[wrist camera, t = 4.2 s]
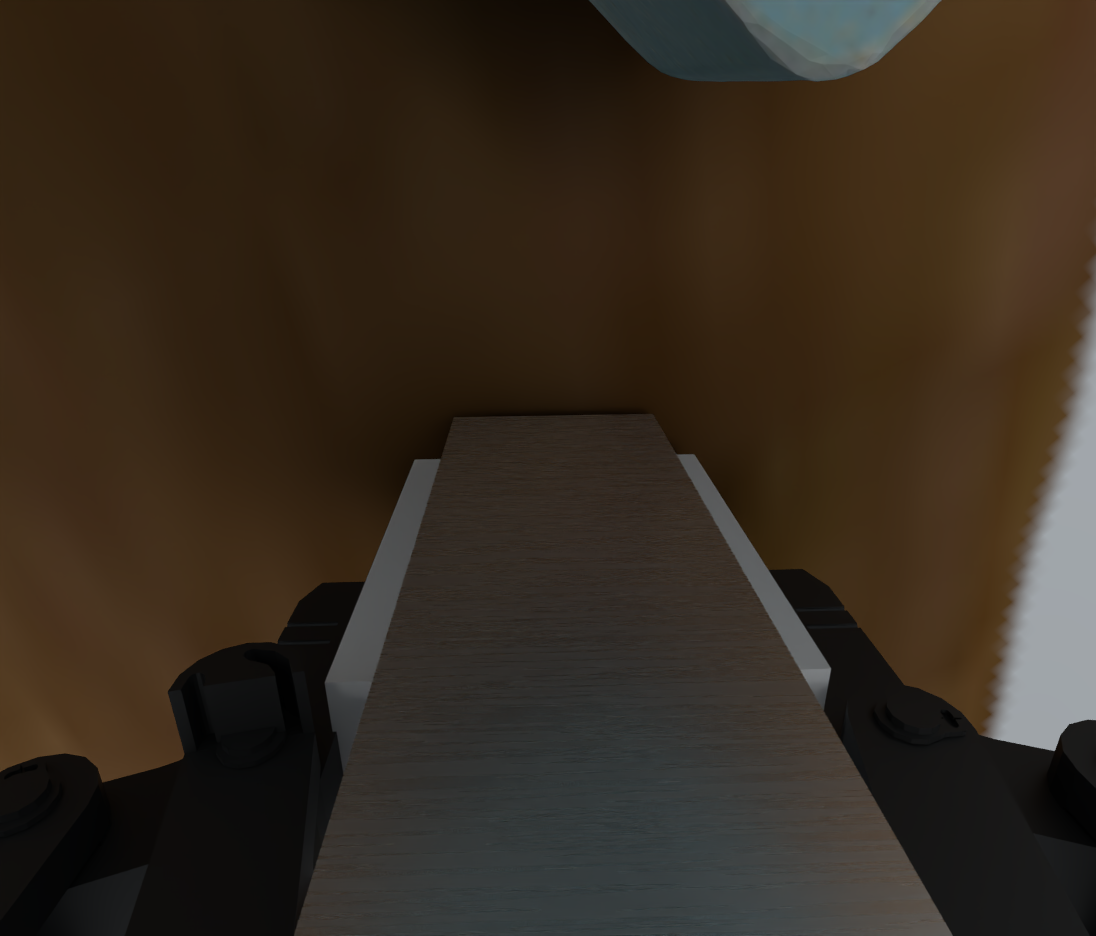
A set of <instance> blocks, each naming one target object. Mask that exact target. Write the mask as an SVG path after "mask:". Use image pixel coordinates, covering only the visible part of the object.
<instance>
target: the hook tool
mask: <svg viewBox="0 0 1096 936" xmlns="http://www.w3.org/2000/svg"><path fill="white" fill-rule="evenodd" d="M294 936H953V935H952V934H951V932H950V930H949V928H948V927H947V925H946V923H945V921H944V920H943V918H942V916H941V914H940V913H939V911H938V909H937V907H936V906H935V904H934V902H933V900H932V899H931V897H930V895H929V894H928V892H927V890H926V888H925V887H924V885H923V883H922V881H921V880H920V878H919V876H918V874H917V873H916V871H915V869H914V867H913V866H912V864H911V862H910V860H909V859H908V857H907V855H906V853H905V852H904V850H903V848H902V846H901V845H900V843H899V841H898V840H897V838H896V836H895V834H894V833H893V831H892V829H891V827H890V826H889V824H888V822H887V820H886V819H885V817H884V815H883V813H882V812H881V810H880V808H879V806H878V805H877V803H876V801H875V799H874V798H873V796H872V794H871V792H870V791H869V789H868V787H867V786H866V784H865V782H864V780H863V779H862V777H861V775H860V773H859V772H858V770H857V768H856V766H855V765H854V763H853V761H852V759H851V758H850V756H849V754H848V752H847V751H846V749H845V747H844V745H843V744H842V742H841V740H840V738H839V737H838V735H837V733H836V732H835V730H834V728H833V726H832V725H831V723H830V721H829V719H828V718H827V716H826V714H825V712H824V711H823V709H822V707H821V705H820V704H819V702H818V700H817V698H816V697H815V695H814V693H813V691H812V690H811V688H810V686H809V684H808V683H807V681H806V679H805V678H804V676H803V674H802V672H801V671H800V669H799V667H798V665H797V664H796V662H795V660H794V658H793V657H792V655H791V653H790V651H789V650H788V648H787V646H786V644H785V643H784V641H783V639H782V637H781V636H780V634H779V632H778V630H777V629H776V627H775V625H774V624H773V622H772V620H771V618H770V617H769V615H768V613H767V611H766V610H765V608H764V606H763V604H762V603H761V601H760V599H759V597H758V596H757V594H756V592H755V590H754V589H753V587H752V585H751V583H750V582H749V580H748V578H747V576H746V575H745V573H744V571H743V570H742V568H741V566H740V564H739V563H738V561H737V559H736V557H735V556H734V554H733V552H732V550H731V549H730V547H729V545H728V543H727V542H726V540H725V538H724V536H723V535H722V533H721V531H720V529H719V528H718V526H717V524H716V522H715V521H714V519H713V517H712V516H711V514H710V512H709V510H708V509H707V507H706V505H705V503H704V502H703V500H702V498H701V496H700V495H699V493H698V491H697V489H696V488H695V486H694V484H693V482H692V481H691V479H690V477H689V475H688V474H687V472H686V470H685V468H684V467H683V465H682V463H681V462H680V460H679V458H678V456H677V455H676V453H675V451H674V449H673V448H672V446H671V444H670V442H669V441H668V439H667V437H666V435H665V434H664V432H663V430H662V428H661V427H660V425H659V423H658V421H657V420H656V418H655V416H654V414H617V415H560V416H503V417H454V418H453V421H452V425H451V428H450V431H449V434H448V438H447V441H446V444H445V447H444V451H443V454H442V457H441V460H440V463H439V467H438V470H437V473H436V476H435V480H434V483H433V486H432V489H431V493H430V496H429V499H428V502H427V506H426V509H425V512H424V515H423V519H422V522H421V525H420V528H419V532H418V535H417V538H416V541H415V545H414V548H413V551H412V554H411V557H410V561H409V564H408V567H407V570H406V574H405V577H404V580H403V583H402V587H401V590H400V593H399V596H398V600H397V603H396V606H395V609H394V613H393V616H392V619H391V622H390V626H389V629H388V632H387V635H386V639H385V642H384V645H383V648H382V651H381V655H380V658H379V661H378V664H377V668H376V671H375V674H374V677H373V681H372V684H371V687H370V690H369V694H368V697H367V700H366V703H365V707H364V710H363V713H362V716H361V720H360V723H359V726H358V729H357V733H356V736H355V739H354V742H353V745H352V749H351V752H350V755H349V758H348V762H347V765H346V768H345V771H344V775H343V778H342V781H341V784H340V788H339V791H338V794H337V797H336V801H335V804H334V807H333V810H332V814H331V817H330V820H329V823H328V827H327V830H326V833H325V836H324V839H323V843H322V846H321V849H320V852H319V856H318V859H317V862H316V865H315V869H314V872H313V875H312V878H311V882H310V885H309V888H308V891H307V895H306V898H305V901H304V904H303V908H302V911H301V914H300V917H299V921H298V924H297V927H296V930H295V933H294Z"/></svg>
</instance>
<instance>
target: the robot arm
mask: <svg viewBox="0 0 1096 936" xmlns="http://www.w3.org/2000/svg"><path fill="white" fill-rule="evenodd" d="M677 456H678V458H679V460H680V462H681V463H682V465H683V467H684V468H685V470H686V472H687V474H688V475H689V477H690V479H691V481H692V482H693V484H694V486H695V488H696V489H697V491H698V493H699V495H700V496H701V498H702V500H703V502H704V503H705V505H706V507H707V509H708V510H709V512H710V514H711V516H712V517H713V519H714V521H715V522H716V524H717V526H718V528H719V529H720V531H721V533H722V535H723V536H724V538H725V540H726V542H727V543H728V545H729V547H730V549H731V550H732V552H733V554H734V556H735V557H736V559H737V561H738V563H739V564H740V566H741V568H742V570H743V571H744V573H745V575H746V576H747V578H748V580H749V582H750V583H751V585H752V587H753V589H754V590H755V592H756V594H757V596H758V597H759V599H760V601H761V603H762V604H763V606H764V608H765V610H766V611H767V613H768V615H769V617H770V618H771V620H772V622H773V624H774V625H775V627H776V629H777V630H778V632H779V634H780V636H781V637H782V639H783V641H784V643H785V644H786V646H787V648H788V650H789V651H790V653H791V655H792V657H793V658H794V660H795V662H796V664H797V665H798V667H799V669H800V671H801V672H802V674H803V676H804V678H805V679H806V681H807V683H808V684H809V686H810V688H811V690H812V691H813V693H814V695H815V697H816V698H817V700H818V702H819V704H820V705H821V707H822V709H823V711H824V712H825V714H826V716H827V718H828V719H829V721H830V723H831V725H832V726H833V728H834V730H835V732H836V733H837V735H838V737H839V738H840V740H841V742H842V744H843V745H844V747H845V749H846V751H847V752H848V754H849V756H850V758H851V759H852V761H853V763H854V765H855V766H856V768H857V770H858V772H859V773H860V775H861V777H862V779H863V780H864V782H865V784H866V786H867V787H868V789H869V791H870V792H871V794H872V796H873V798H874V799H875V801H876V803H877V805H878V806H879V808H880V810H881V812H882V813H883V815H884V817H885V819H886V820H887V822H888V824H889V826H890V827H891V829H892V831H893V833H894V834H895V836H896V838H897V840H898V841H899V843H900V845H901V846H902V848H903V850H904V852H905V853H906V855H907V857H908V859H909V860H910V862H911V864H912V866H913V867H914V869H915V871H916V873H917V874H918V876H919V878H920V880H921V881H922V883H923V885H924V887H925V888H926V890H927V892H928V894H929V895H930V897H931V899H932V900H933V902H934V904H935V906H936V907H937V909H938V911H939V913H940V914H941V916H942V918H943V920H944V921H945V923H946V925H947V927H948V928H949V930H950V932H951V934H952V935H953V936H1096V720H1085V721H1081V722H1077V723H1073V724H1069V725H1068V727H1067V728H1066V729H1065V731H1064V732H1063V733H1062V734H1061V736H1060V738H1059V741H1058V744H1057V747H1056V750H1055V751H1051V750H1046V749H1041V748H1035V747H1030V746H1026V745H1021V744H1016V743H1010V742H1006V741H1001V740H996V739H992V738H988V737H984V736H981V735H978V733H977V731H976V729H975V728H974V727H973V726H972V724H971V723H970V722H969V721H968V720H967V718H966V717H965V716H964V715H963V714H962V712H960V711H959V710H957V709H956V708H954V707H953V706H952V705H950V704H949V703H947V702H946V701H944V700H943V699H942V698H939V697H937V696H935V695H932V694H930V693H928V692H926V691H923V690H921V689H919V688H915V687H910V686H905V685H904V684H903V683H902V682H901V680H900V679H899V678H898V676H897V675H896V674H895V672H894V671H893V670H892V668H891V667H890V666H889V665H888V663H887V662H886V661H885V659H884V658H883V657H882V655H881V654H880V653H879V651H878V650H877V649H876V648H875V646H874V645H873V644H872V642H871V641H870V640H869V638H868V637H867V636H866V634H865V633H864V632H863V631H862V629H861V628H858V627H857V623H856V621H855V620H854V619H853V617H852V616H851V615H850V614H849V612H848V611H845V610H844V606H843V604H842V603H841V602H840V600H839V599H838V598H837V597H836V595H835V594H834V593H833V591H832V590H831V589H830V587H829V586H828V585H826V584H824V583H823V582H821V581H820V580H818V579H817V578H815V577H814V576H812V575H811V574H809V573H808V572H806V571H805V570H803V569H790V570H768V569H767V567H766V566H765V564H764V563H763V561H762V560H761V558H760V556H759V555H758V553H757V552H756V550H755V549H754V547H753V545H752V544H751V542H750V541H749V539H748V538H747V536H746V534H745V533H744V531H743V530H742V528H741V527H740V525H739V524H738V522H737V520H736V519H735V517H734V516H733V514H732V513H731V511H730V509H729V508H728V506H727V505H726V503H725V502H724V500H723V498H722V497H721V495H720V494H719V492H718V491H717V489H716V487H715V486H714V484H713V483H712V481H711V480H710V478H709V477H708V475H707V473H706V472H705V470H704V469H703V467H702V466H701V464H700V462H699V461H698V459H697V458H696V456H695V455H694V454H680V455H677ZM440 460H441V459H418V460H414V463H413V465H412V467H411V470H410V472H409V475H408V477H407V480H406V482H405V485H404V487H403V490H402V492H401V495H400V497H399V500H398V502H397V505H396V507H395V510H394V512H393V515H392V517H391V519H390V522H389V524H388V527H387V529H386V532H385V534H384V537H383V539H382V542H381V544H380V547H379V549H378V552H377V554H376V557H375V559H374V562H373V564H372V567H371V569H370V572H369V574H368V576H367V579H366V581H365V582H337V583H322V584H320V585H319V586H318V587H317V588H315V589H314V590H313V591H312V592H310V593H309V594H308V595H307V596H305V597H304V598H303V599H302V600H300V601H299V603H298V605H297V606H296V608H295V610H294V612H293V614H292V616H291V617H290V619H289V621H288V623H287V624H288V625H287V627H285V628H284V630H283V632H282V634H281V636H280V638H279V639H278V644H275V643H272V642H265V643H246V644H242V645H238V646H233V647H229V648H225V649H222V650H220V651H218V652H215V653H213V654H211V655H209V656H207V657H205V658H202V659H200V660H198V661H197V662H196V663H194V664H193V665H192V666H190V667H189V668H188V669H187V670H185V671H184V672H183V673H181V674H180V675H179V676H178V678H177V679H176V680H175V682H174V683H173V685H172V686H171V688H170V689H169V691H168V694H169V698H170V702H171V705H172V709H173V713H174V716H175V720H176V724H177V727H178V731H179V735H180V739H181V742H182V746H183V750H184V753H185V755H184V758H183V759H182V760H180V761H177V762H174V763H171V764H168V765H165V766H162V767H159V768H156V769H152V770H148V771H145V772H141V773H137V774H133V775H130V776H126V777H122V778H118V779H114V780H111V781H107V782H103V783H102V780H101V777H100V774H99V771H98V768H97V767H96V766H95V765H94V764H93V763H91V762H90V761H89V760H88V759H87V758H86V757H82V756H76V755H70V754H58V755H50V756H43V757H37V758H34V759H32V760H29V761H26V762H23V763H20V764H17V765H15V766H12V767H9V768H7V769H5V770H3V771H1V772H0V936H294V933H295V930H296V927H297V924H298V921H299V917H300V914H301V911H302V908H303V904H304V901H305V898H306V895H307V891H308V888H309V885H310V882H311V878H312V875H313V872H314V869H315V865H316V862H317V859H318V856H319V852H320V849H321V846H322V843H323V839H324V836H325V833H326V830H327V827H328V823H329V820H330V817H331V814H332V810H333V807H334V804H335V801H336V797H337V794H338V791H339V788H340V784H341V781H342V778H343V775H344V771H345V768H346V765H347V762H348V758H349V755H350V752H351V749H352V745H353V742H354V739H355V736H356V733H357V729H358V726H359V723H360V720H361V716H362V713H363V710H364V707H365V703H366V700H367V697H368V694H369V690H370V687H371V684H372V681H373V677H374V674H375V671H376V668H377V664H378V661H379V658H380V655H381V651H382V648H383V645H384V642H385V639H386V635H387V632H388V629H389V626H390V622H391V619H392V616H393V613H394V609H395V606H396V603H397V600H398V596H399V593H400V590H401V587H402V583H403V580H404V577H405V574H406V570H407V567H408V564H409V561H410V557H411V554H412V551H413V548H414V545H415V541H416V538H417V535H418V532H419V528H420V525H421V522H422V519H423V515H424V512H425V509H426V506H427V502H428V499H429V496H430V493H431V489H432V486H433V483H434V480H435V476H436V473H437V470H438V467H439V463H440Z"/></svg>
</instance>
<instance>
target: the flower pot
mask: <svg viewBox="0 0 1096 936" xmlns="http://www.w3.org/2000/svg"><path fill="white" fill-rule="evenodd" d="M589 1H590V2H591V3H592V4H593V5H594V6H595V7H596V8H597V10H598V11H599V12H600V13H601V14H602V15H603V16H604V17H605V18H606V19H607V21H608V22H609V23H610V24H611V25H612V26H613V27H614V28H615V29H616V30H617V32H618V33H619V34H620V35H621V36H622V37H623V38H624V39H625V40H626V41H627V42H628V43H629V44H630V45H631V46H632V47H633V48H634V49H635V50H636V51H637V52H638V53H639V54H640V55H641V56H642V57H643V58H644V59H645V60H646V61H647V62H648V63H650V64H651V65H652V66H654V67H655V68H656V69H658V70H659V71H660V72H662V73H665V74H667V75H670V76H672V77H676V78H680V79H684V80H693V81H718V82H726V81H790V80H811V81H825V80H834V79H839V78H842V77H846V76H849V75H851V74H854V73H856V72H859V71H861V70H864V69H866V68H867V67H869V66H871V65H873V64H874V63H876V62H878V61H879V60H880V59H881V58H882V57H883V56H884V55H885V54H887V53H888V52H889V51H890V50H891V49H892V48H893V47H894V46H895V45H896V44H897V43H898V42H899V41H900V40H902V39H903V38H904V37H905V36H906V35H907V34H909V33H910V32H911V31H912V30H913V29H914V28H915V27H916V26H917V25H918V24H919V23H920V22H921V21H922V20H923V19H924V18H925V17H926V16H927V15H928V14H929V13H930V12H931V11H932V10H933V8H934V7H935V6H936V5H937V4H938V3H939V2H940V1H941V0H589Z"/></svg>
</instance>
